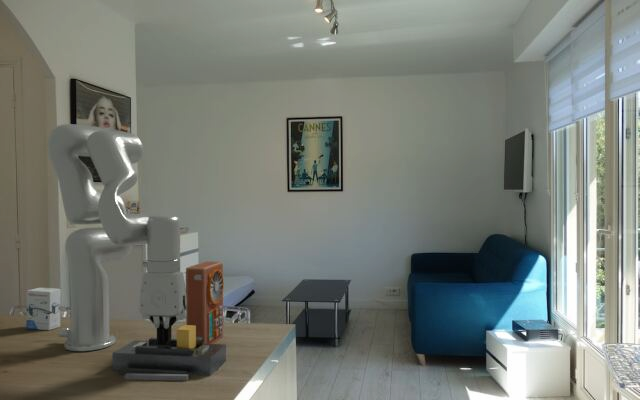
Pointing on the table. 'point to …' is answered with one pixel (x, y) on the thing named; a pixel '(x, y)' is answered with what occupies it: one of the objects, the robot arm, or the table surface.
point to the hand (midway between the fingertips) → (164, 343)
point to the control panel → (205, 300)
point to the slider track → (171, 356)
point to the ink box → (43, 308)
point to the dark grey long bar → (148, 371)
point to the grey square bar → (156, 376)
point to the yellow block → (186, 336)
